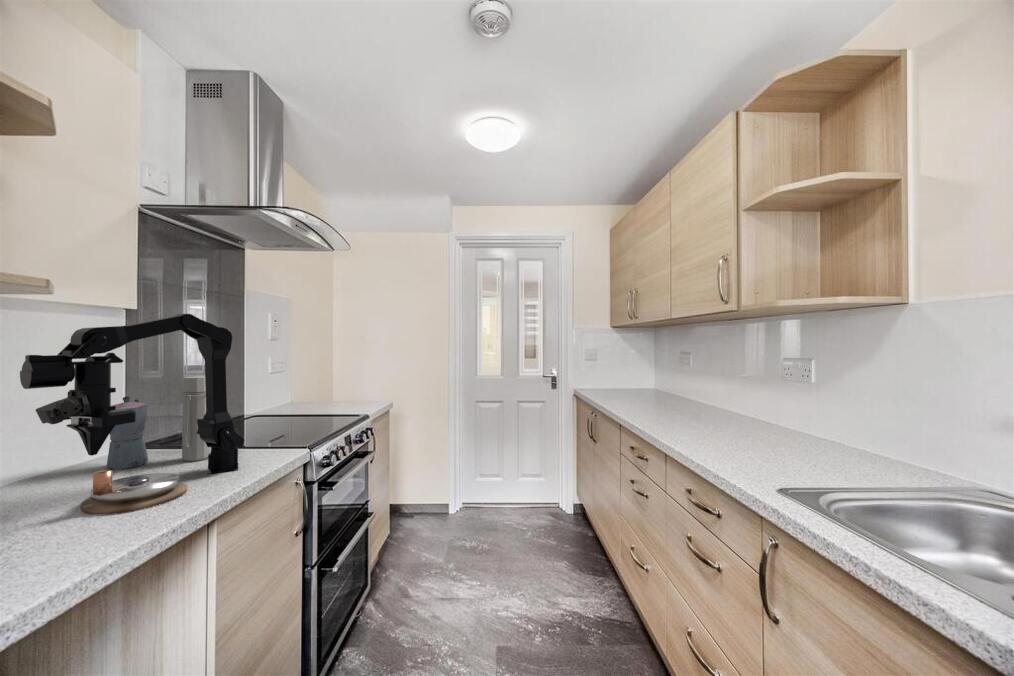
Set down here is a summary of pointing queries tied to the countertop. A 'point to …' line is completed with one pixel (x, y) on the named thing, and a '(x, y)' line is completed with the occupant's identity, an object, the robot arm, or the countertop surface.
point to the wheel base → (132, 502)
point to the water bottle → (193, 418)
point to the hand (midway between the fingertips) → (92, 455)
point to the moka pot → (128, 438)
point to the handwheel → (130, 486)
